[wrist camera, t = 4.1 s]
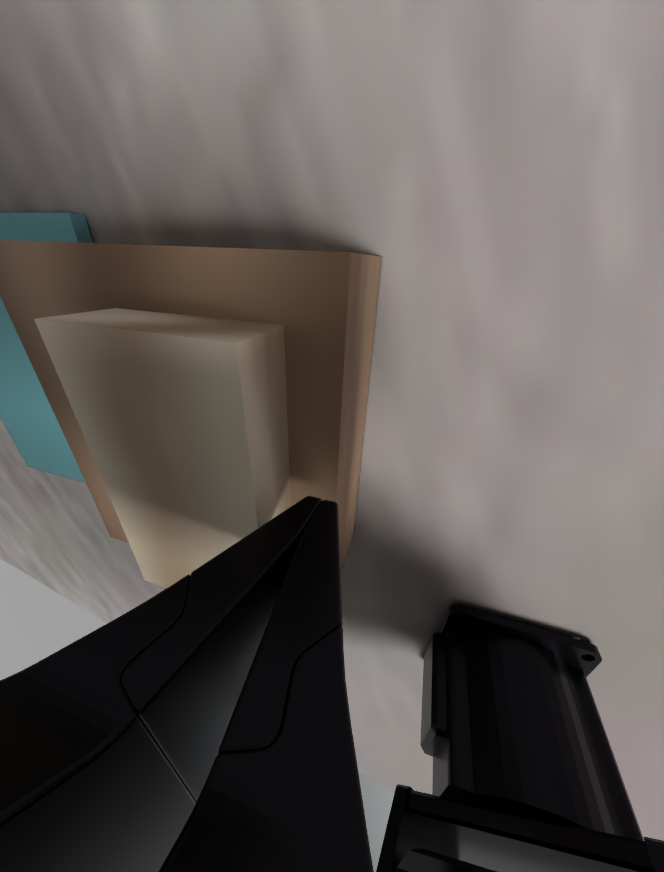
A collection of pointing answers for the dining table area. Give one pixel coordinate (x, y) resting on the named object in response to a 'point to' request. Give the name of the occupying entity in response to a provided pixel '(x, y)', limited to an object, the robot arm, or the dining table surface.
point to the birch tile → (179, 426)
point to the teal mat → (11, 368)
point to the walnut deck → (226, 299)
